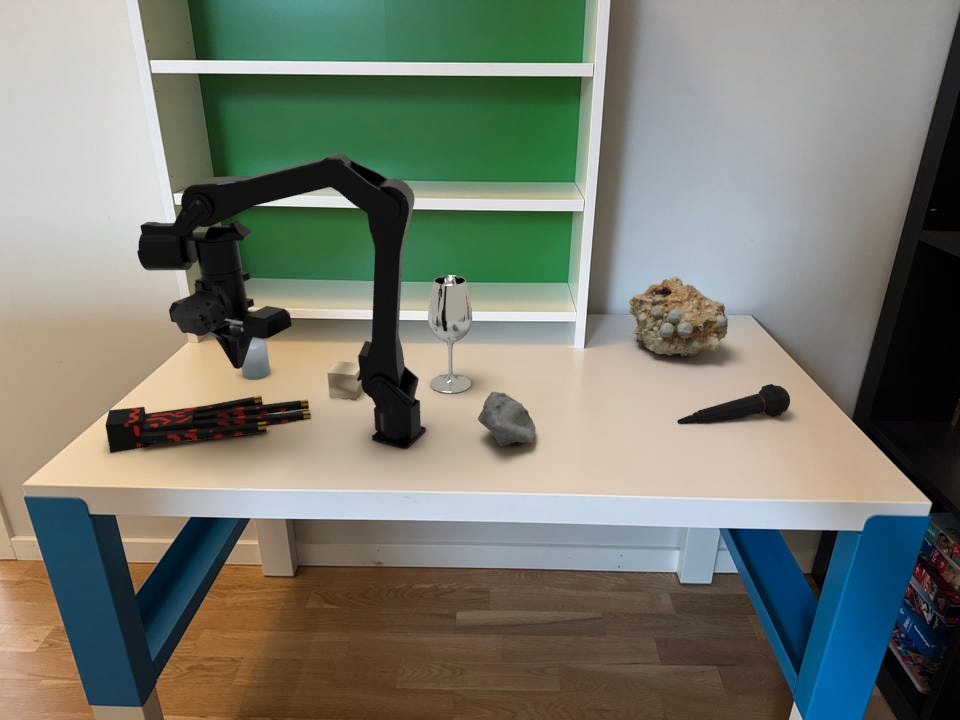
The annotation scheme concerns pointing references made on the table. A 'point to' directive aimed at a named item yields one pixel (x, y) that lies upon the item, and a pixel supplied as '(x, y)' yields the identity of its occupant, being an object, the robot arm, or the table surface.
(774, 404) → the microphone
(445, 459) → the table surface
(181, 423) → the toy
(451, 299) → the wineglass
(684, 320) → the rock
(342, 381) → the beech cube
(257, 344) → the grey cylinder
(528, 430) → the grey stone
